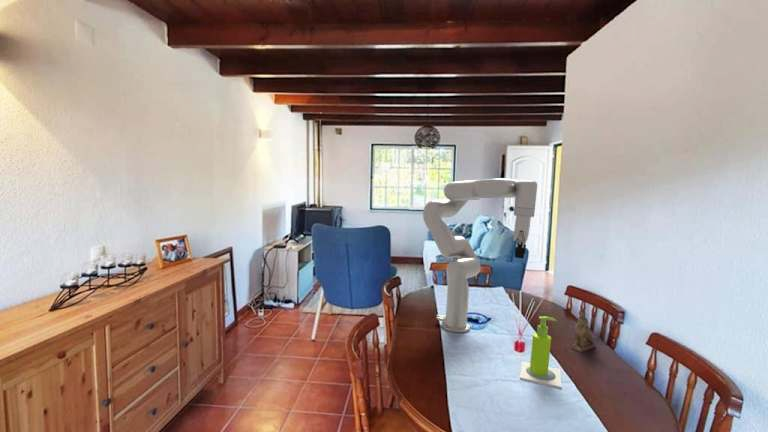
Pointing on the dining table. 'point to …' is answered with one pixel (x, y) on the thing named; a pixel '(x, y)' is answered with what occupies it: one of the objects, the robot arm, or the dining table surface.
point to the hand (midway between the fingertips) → (519, 255)
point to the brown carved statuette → (582, 334)
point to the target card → (550, 379)
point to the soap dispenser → (541, 348)
